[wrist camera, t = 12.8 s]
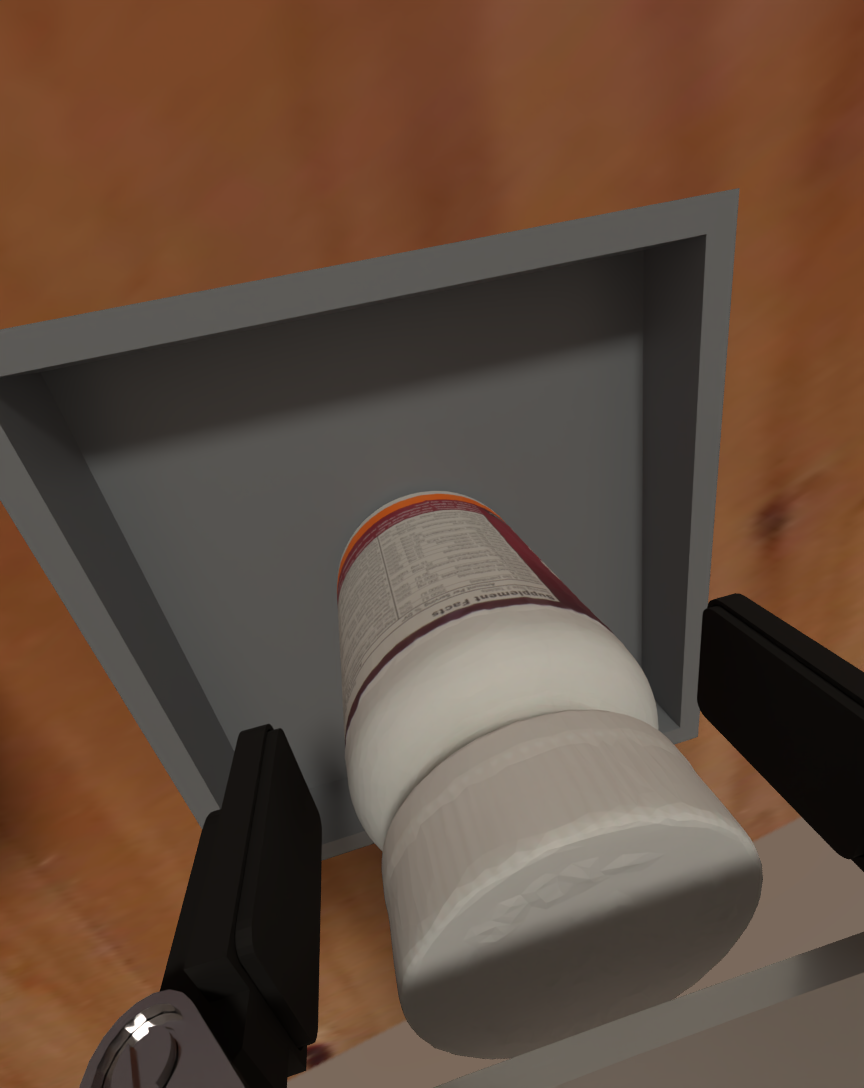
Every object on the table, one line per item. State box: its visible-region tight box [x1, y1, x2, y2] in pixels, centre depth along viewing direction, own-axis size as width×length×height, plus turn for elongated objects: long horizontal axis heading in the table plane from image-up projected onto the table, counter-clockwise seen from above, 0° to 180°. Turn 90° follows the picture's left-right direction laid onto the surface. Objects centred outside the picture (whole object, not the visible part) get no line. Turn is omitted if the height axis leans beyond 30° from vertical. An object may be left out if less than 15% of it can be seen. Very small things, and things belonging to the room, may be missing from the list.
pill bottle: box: [337, 491, 763, 1059], centre depth 11 cm, size 6×6×11 cm
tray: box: [0, 188, 739, 861], centre depth 16 cm, size 18×18×3 cm
